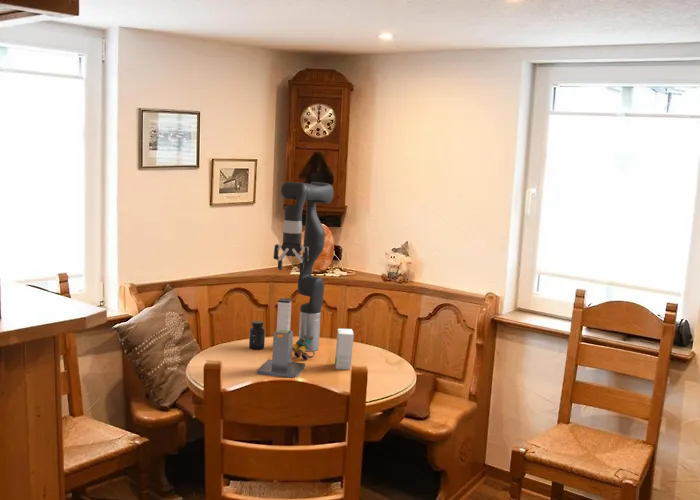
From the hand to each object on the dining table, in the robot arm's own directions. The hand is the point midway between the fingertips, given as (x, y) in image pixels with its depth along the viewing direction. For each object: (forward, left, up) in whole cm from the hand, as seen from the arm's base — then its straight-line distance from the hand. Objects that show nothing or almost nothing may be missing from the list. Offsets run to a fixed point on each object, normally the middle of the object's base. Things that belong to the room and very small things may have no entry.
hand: (290, 270), depth 291 cm
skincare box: (-7, +23, -40) cm, 47 cm away
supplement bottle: (-20, -19, -40) cm, 49 cm away
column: (+7, 0, -32) cm, 32 cm away
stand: (+7, 0, -40) cm, 41 cm away
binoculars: (-12, +4, -40) cm, 42 cm away
